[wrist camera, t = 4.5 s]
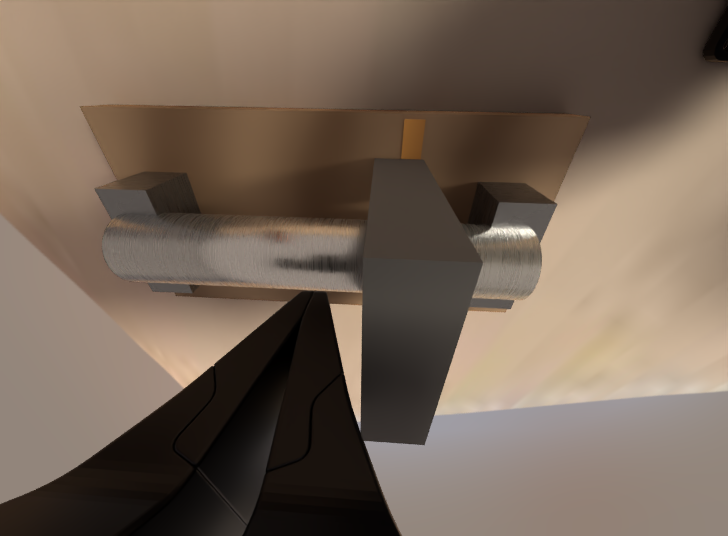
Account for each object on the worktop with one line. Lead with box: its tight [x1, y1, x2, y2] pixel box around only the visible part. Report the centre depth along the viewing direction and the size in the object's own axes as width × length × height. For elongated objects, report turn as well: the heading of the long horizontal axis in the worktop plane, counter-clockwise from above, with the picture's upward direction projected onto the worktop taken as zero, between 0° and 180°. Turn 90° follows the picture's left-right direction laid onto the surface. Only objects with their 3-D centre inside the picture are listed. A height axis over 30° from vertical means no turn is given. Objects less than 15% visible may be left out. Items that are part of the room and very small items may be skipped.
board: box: [80, 105, 590, 312], centre depth 14 cm, size 20×10×2 cm, turn 89°
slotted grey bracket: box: [361, 158, 483, 445], centre depth 9 cm, size 2×7×8 cm, turn 0°
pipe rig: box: [95, 171, 557, 309], centre depth 11 cm, size 17×5×4 cm, turn 89°
